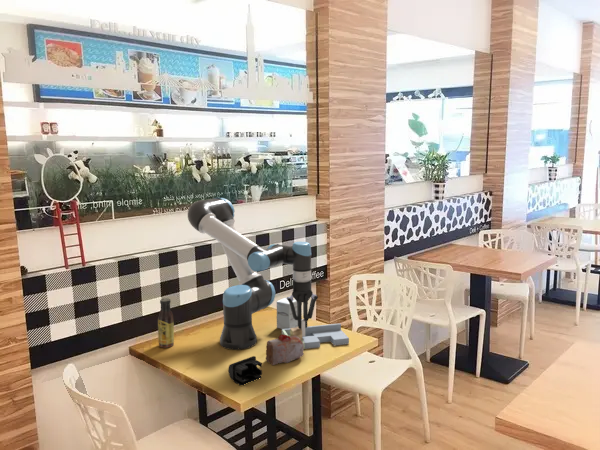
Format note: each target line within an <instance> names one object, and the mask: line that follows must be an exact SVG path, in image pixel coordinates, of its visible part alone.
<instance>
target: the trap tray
mask: <svg viewBox="0 0 600 450" xmlns="http://www.w3.org/2000/svg"><path fill="white" fill-rule="evenodd" d="M281 335H287V336H291V335H290V328H289V329H281ZM301 341H302V342H303V343H304V349H303V350H305V349H316V348H321V343H329V342H330V343H331V344H332V345H333V346H341V345H342V346H343V345H349V344H350V343H349V342H350V337H348V335H347V334H346V333H345V332H344V331H343V330H342V324H341V323H340V322H339V323H329V324H321V325H310V326H309V325H308V326H307V328H305V336H302V340H301Z"/></svg>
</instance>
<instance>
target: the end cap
mask: <svg viewBox="0 0 600 450" xmlns="http://www.w3.org/2000/svg"><path fill="white" fill-rule="evenodd" d="M262 367H263V365H262V362H261V361H259V360H257V357H256V356H254V355H253V356H250V357H247V358H244V359H242V360H238V361H235V362H233V363H230V364H229V365H228V368H227V369H228V375H229V378H230V379H231V380H232V382H234V383H235V384H237V385H238V384H239V385H238V386H240V385H243V386H245V385H244V384H246V383H248V382H251V381H253V382H255V381H254V380H256V379H258V380H260V379H259V378H261V379H262V374H263V370H262V369H261V368H262ZM256 381H257V380H256ZM251 383H252V382H251ZM248 384H249V383H248ZM246 385H247V384H246Z"/></svg>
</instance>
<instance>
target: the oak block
mask: <svg viewBox="0 0 600 450" xmlns="http://www.w3.org/2000/svg"><path fill="white" fill-rule="evenodd" d="M290 335H291V336H293V335H296V336H298V337H299V338H300V340H302V330H301V328H298V327H296V328H290Z"/></svg>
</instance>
